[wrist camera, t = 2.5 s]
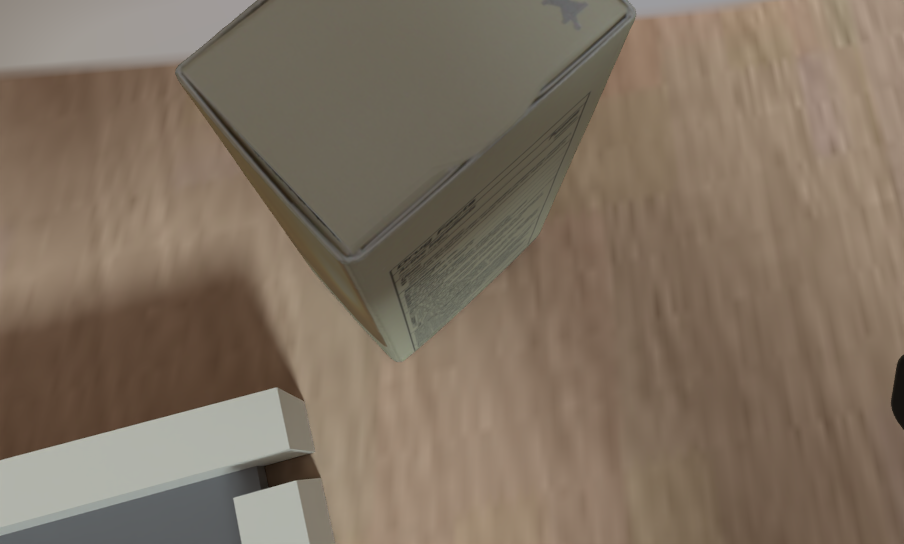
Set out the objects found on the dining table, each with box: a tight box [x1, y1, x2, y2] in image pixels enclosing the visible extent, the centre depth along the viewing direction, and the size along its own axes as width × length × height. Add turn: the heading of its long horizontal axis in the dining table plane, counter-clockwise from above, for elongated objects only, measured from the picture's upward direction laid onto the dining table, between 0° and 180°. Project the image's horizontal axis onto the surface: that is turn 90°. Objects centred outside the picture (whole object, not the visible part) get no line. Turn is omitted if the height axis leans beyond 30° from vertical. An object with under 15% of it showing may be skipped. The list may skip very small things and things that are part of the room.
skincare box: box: [175, 0, 636, 362], centre depth 17 cm, size 6×4×12 cm
